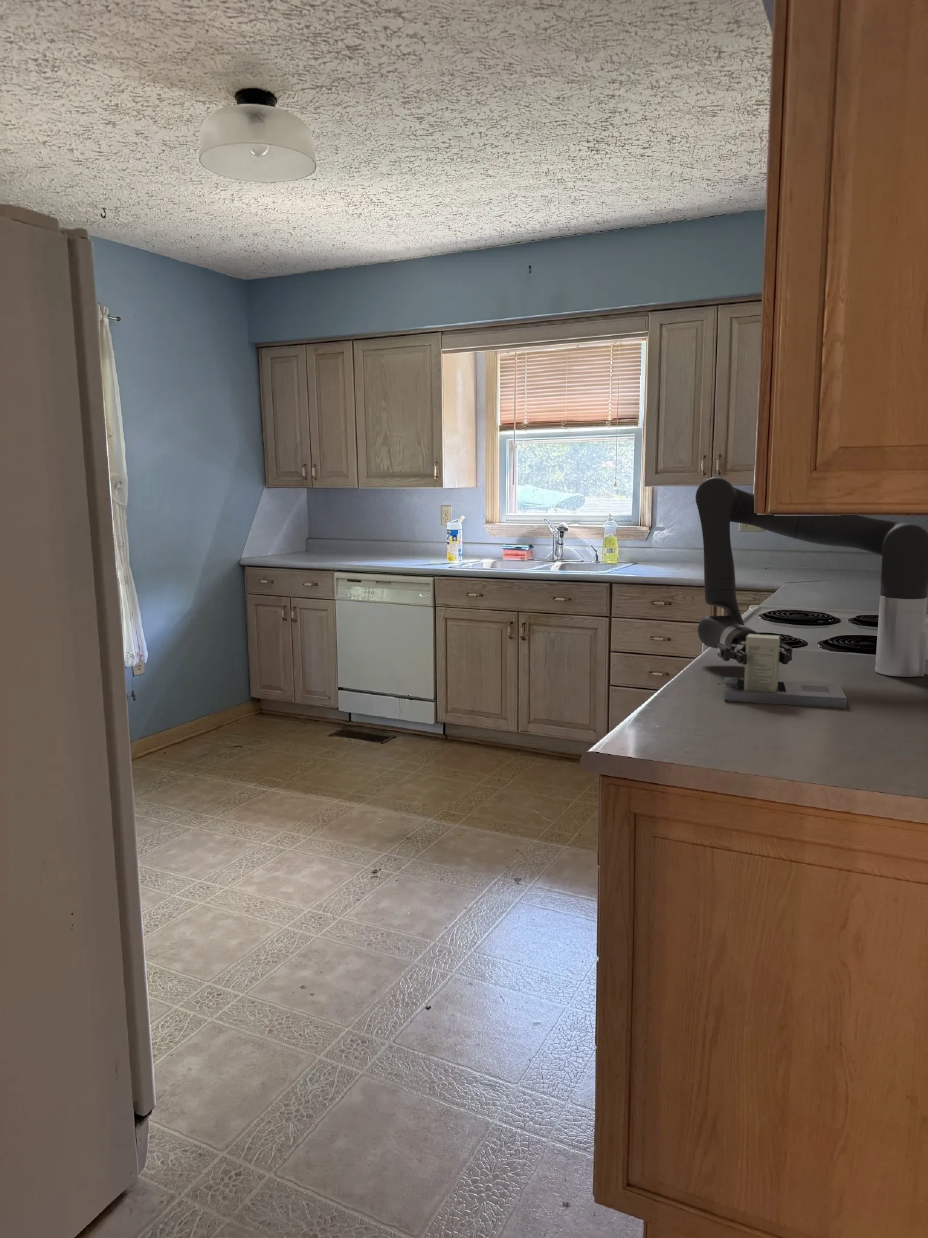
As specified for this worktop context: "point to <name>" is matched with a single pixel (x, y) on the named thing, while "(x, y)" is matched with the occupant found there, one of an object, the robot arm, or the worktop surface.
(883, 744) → the worktop surface
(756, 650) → the skincare box
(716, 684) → the worktop surface
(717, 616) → the robot arm
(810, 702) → the grey recessed board
